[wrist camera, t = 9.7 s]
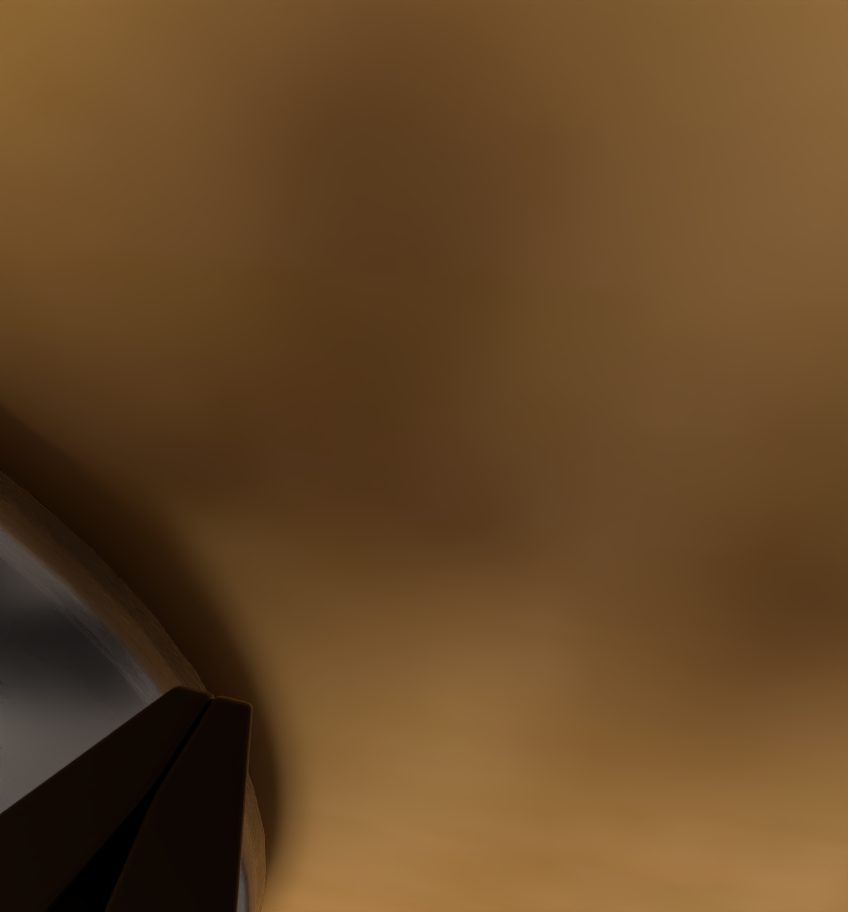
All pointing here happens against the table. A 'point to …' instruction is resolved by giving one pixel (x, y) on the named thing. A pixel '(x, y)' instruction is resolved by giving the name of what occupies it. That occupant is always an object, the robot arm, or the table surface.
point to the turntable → (80, 661)
